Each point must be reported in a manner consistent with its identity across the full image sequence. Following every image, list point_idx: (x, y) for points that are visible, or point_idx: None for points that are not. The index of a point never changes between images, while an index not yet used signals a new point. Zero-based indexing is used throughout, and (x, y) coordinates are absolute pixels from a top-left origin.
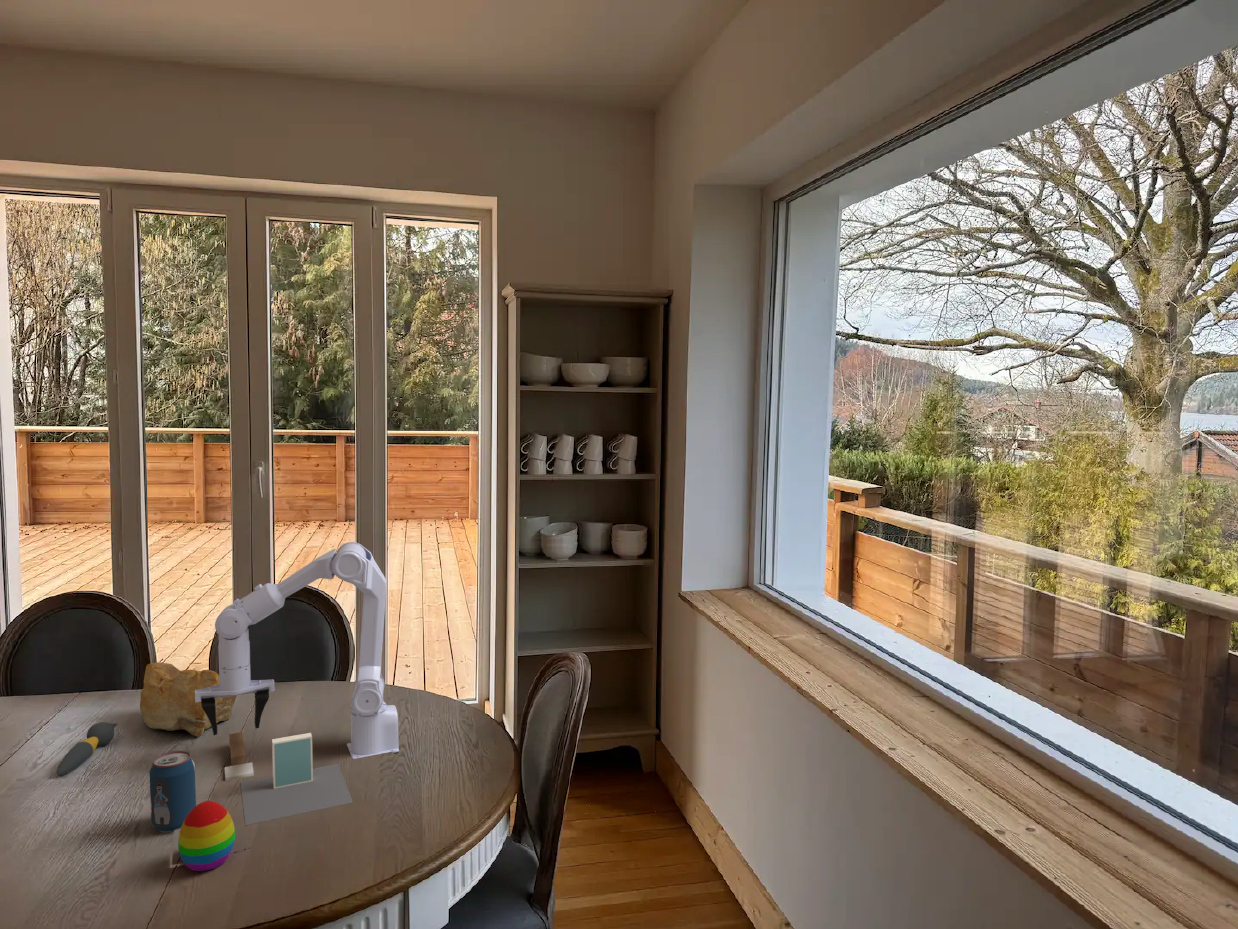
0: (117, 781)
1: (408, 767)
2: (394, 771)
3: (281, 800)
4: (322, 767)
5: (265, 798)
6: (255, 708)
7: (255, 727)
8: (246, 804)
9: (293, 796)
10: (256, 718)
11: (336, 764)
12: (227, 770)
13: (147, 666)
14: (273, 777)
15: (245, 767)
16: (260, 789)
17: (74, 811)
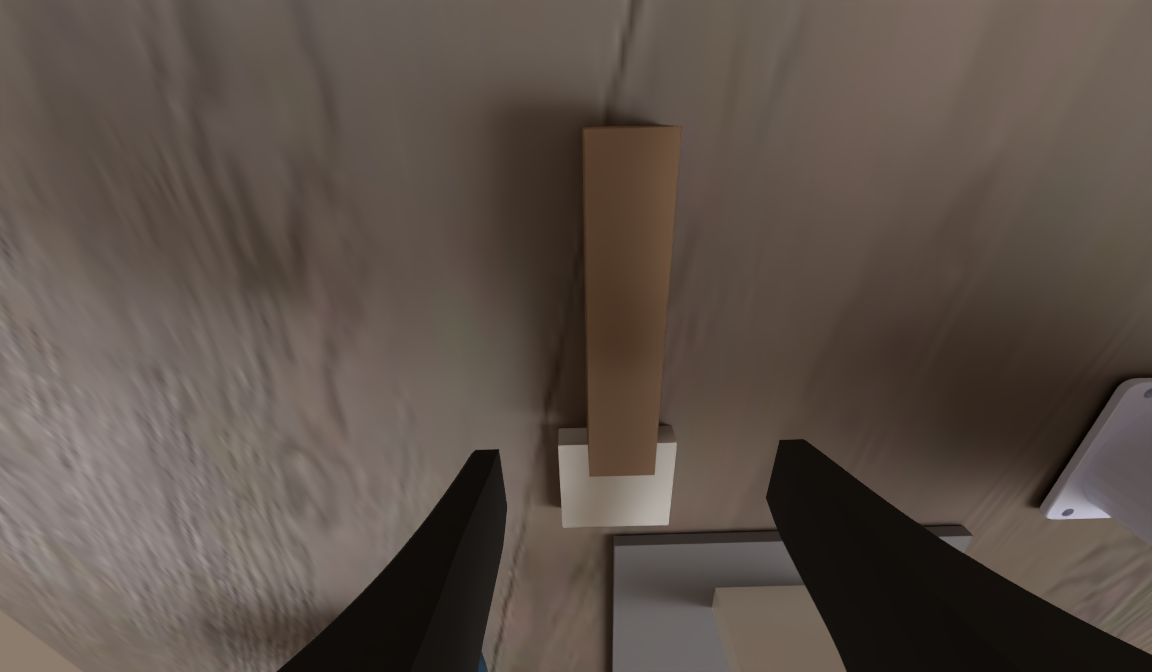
0: (82, 343)
1: (1140, 593)
2: (1085, 600)
3: (716, 658)
4: None
5: (677, 641)
6: (876, 576)
7: (770, 506)
8: (622, 650)
9: None
10: (812, 593)
11: (964, 539)
12: (570, 477)
13: None
14: (724, 650)
15: (643, 476)
16: (672, 600)
17: (69, 516)
